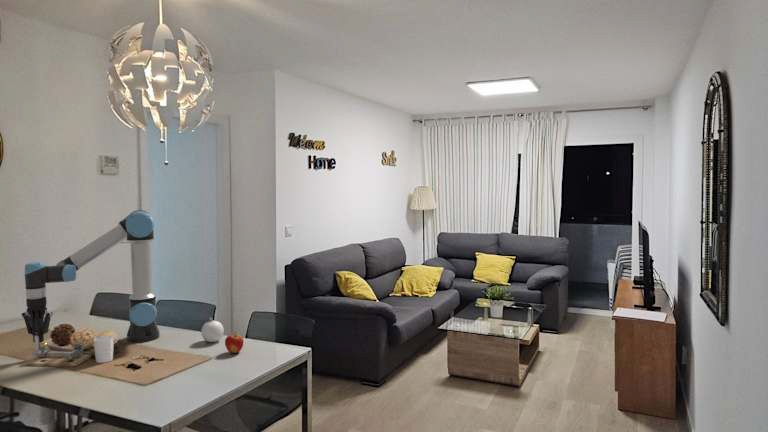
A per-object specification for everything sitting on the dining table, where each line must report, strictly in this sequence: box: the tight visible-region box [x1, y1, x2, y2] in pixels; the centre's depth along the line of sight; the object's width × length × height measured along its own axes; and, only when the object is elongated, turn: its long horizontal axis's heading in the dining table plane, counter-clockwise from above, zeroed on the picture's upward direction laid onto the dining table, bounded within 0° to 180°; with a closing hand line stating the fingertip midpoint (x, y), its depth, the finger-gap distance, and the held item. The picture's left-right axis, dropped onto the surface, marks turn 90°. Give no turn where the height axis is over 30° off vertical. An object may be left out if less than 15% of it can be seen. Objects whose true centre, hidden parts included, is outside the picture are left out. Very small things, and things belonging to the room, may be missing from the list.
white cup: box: [93, 335, 115, 364], centre depth 238 cm, size 8×8×10 cm
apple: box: [224, 331, 244, 354], centre depth 248 cm, size 8×8×10 cm
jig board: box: [22, 354, 91, 367], centre depth 237 cm, size 23×12×1 cm, turn 87°
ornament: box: [201, 317, 225, 343], centre depth 265 cm, size 10×10×12 cm
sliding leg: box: [31, 341, 51, 360], centre depth 238 cm, size 3×8×6 cm, turn 177°
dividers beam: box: [37, 342, 85, 361], centre depth 238 cm, size 20×8×6 cm, turn 87°
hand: (39, 349), depth 241 cm, fingers closed
